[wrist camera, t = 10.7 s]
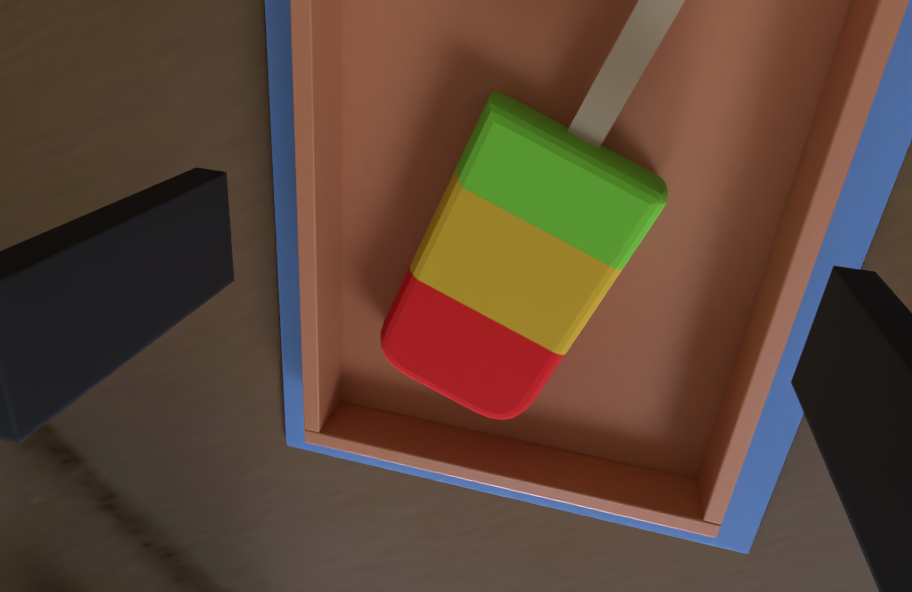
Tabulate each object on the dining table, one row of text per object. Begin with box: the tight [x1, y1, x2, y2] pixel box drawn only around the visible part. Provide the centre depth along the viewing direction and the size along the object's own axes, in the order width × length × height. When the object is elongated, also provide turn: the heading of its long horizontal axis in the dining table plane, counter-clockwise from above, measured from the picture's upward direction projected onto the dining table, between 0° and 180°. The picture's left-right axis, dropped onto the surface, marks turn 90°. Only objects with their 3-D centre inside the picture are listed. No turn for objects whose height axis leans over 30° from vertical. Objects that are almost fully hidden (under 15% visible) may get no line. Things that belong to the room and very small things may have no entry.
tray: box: [290, 0, 909, 538], centre depth 19 cm, size 20×14×2 cm
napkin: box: [265, 0, 912, 554], centre depth 20 cm, size 25×18×1 cm
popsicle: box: [380, 0, 685, 420], centre depth 19 cm, size 6×15×2 cm, turn 154°
